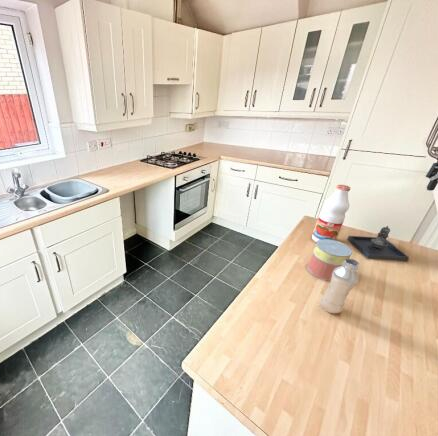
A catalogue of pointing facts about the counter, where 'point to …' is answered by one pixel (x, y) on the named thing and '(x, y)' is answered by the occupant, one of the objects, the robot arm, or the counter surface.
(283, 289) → the counter surface
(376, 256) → the tray
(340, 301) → the plastic bottle
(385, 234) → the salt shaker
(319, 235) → the fruit juice
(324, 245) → the canned food
